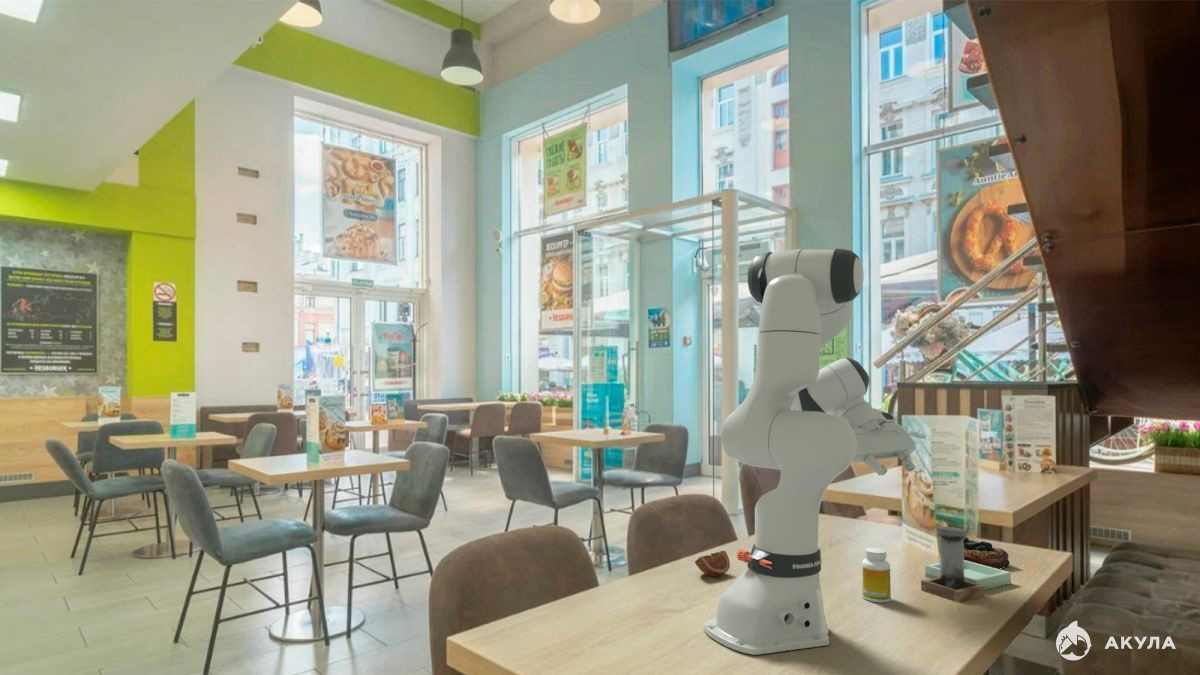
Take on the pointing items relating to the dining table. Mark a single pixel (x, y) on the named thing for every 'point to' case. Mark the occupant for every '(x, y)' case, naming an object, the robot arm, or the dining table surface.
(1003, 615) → the dining table surface
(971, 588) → the socket block
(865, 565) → the supplement bottle
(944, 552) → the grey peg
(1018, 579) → the dining table surface
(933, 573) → the tray
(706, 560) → the fruit slice
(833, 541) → the dining table surface
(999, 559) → the pastry
